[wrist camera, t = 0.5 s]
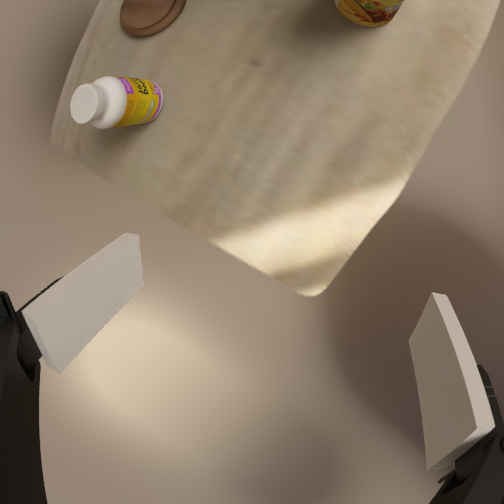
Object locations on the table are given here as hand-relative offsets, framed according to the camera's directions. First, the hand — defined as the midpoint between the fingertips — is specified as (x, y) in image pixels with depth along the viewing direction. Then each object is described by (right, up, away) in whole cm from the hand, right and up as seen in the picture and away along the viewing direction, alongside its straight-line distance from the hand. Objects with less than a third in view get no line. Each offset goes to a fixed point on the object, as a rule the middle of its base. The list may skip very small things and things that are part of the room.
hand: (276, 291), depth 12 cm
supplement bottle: (-16, +23, +24) cm, 37 cm away
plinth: (-15, +37, +16) cm, 44 cm away
